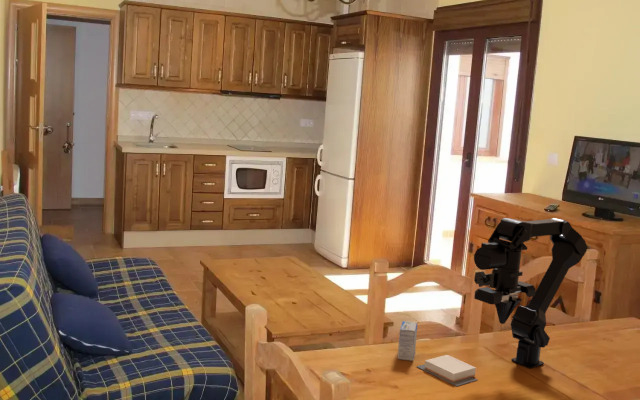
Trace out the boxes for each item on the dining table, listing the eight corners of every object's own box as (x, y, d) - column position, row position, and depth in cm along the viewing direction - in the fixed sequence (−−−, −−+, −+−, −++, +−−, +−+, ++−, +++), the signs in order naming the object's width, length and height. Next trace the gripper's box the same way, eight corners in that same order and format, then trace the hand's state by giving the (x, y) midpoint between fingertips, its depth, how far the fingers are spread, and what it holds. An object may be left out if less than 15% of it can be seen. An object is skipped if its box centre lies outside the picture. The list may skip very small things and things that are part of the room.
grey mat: (437, 361, 188) (437, 360, 188) (477, 380, 177) (477, 379, 177) (416, 367, 183) (416, 366, 183) (456, 386, 172) (456, 385, 172)
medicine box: (413, 361, 186) (416, 331, 185) (397, 359, 187) (399, 329, 186) (415, 351, 194) (418, 322, 193) (399, 349, 195) (402, 320, 194)
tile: (447, 354, 187) (425, 360, 181) (475, 367, 179) (453, 373, 174) (446, 362, 187) (424, 368, 182) (475, 375, 179) (453, 382, 174)
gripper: (505, 256, 192) (499, 310, 195) (461, 262, 181) (455, 319, 183) (539, 265, 183) (533, 321, 186) (495, 273, 172) (488, 332, 175)
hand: (502, 323), depth 183 cm, fingers closed
